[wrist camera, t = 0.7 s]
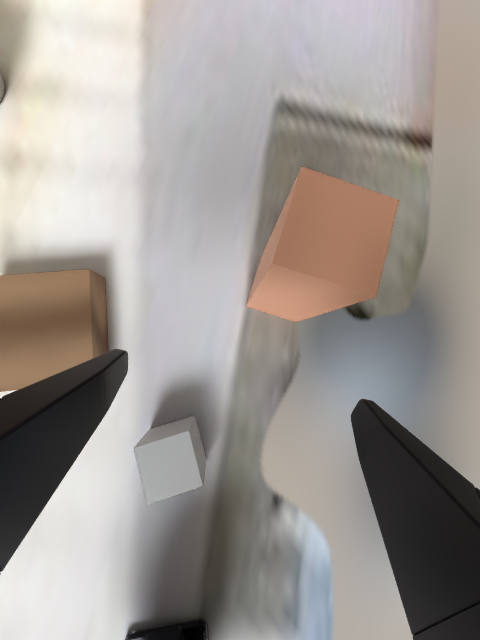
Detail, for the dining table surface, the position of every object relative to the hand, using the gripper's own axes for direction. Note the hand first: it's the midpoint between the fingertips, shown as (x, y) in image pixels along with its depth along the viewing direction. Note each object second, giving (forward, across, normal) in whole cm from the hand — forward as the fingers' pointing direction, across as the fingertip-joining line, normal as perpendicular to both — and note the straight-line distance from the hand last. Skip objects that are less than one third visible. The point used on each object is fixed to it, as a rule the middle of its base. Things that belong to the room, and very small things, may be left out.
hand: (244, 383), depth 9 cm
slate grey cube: (+6, +3, +14) cm, 16 cm away
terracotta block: (+15, -3, +1) cm, 15 cm away
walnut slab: (+11, +16, +8) cm, 21 cm away
